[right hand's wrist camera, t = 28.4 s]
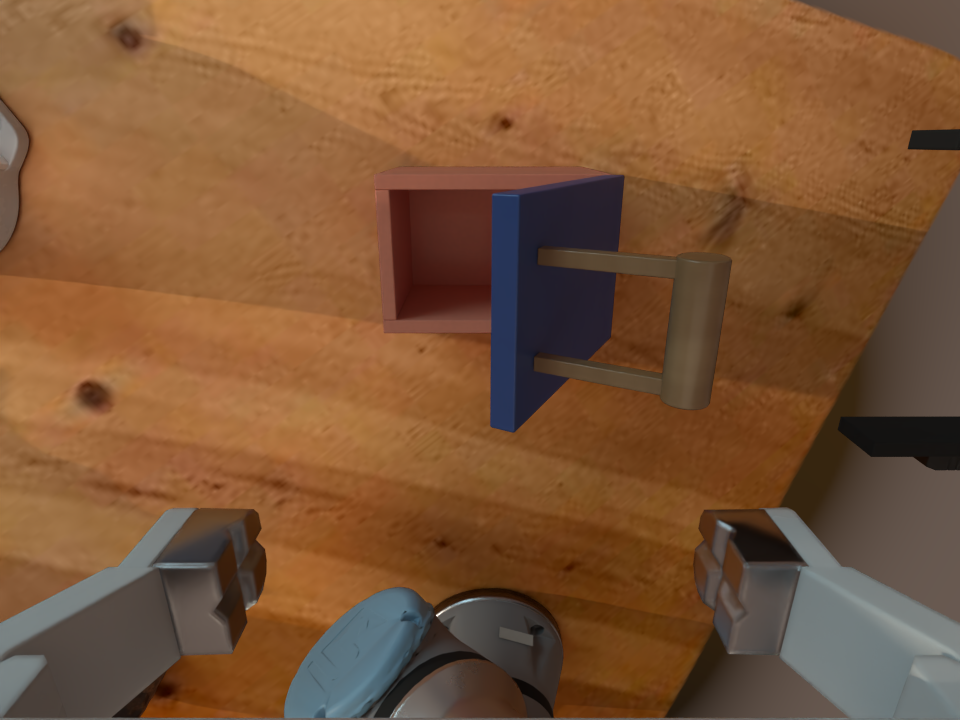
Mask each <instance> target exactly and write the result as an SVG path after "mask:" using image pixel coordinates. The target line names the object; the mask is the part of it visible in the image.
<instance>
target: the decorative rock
mask: <svg viewBox="0 0 960 720" xmlns="http://www.w3.org/2000/svg"><path fill="white" fill-rule="evenodd" d="M166 671H167V670H166ZM166 671H165V672H164V673H163V674H162V675H160V676H159V677H158V678H157V679H156V680H155V681H153V682H152V683H151V684H150V685H149V686H148V687H146V688H145V689H144V690H143V691H142V692H140V693H139V694H138V695H137V696H136V697H135V698H133V699H132V700H131V701H130V702H129V703H128V704H126V705H125V706H124V707H123V708H122V709H121V710H119V711H118V712H117V713H116V714H115V715H114V716H112V717H111V718H140V716H141V715H142V714H143V712H144V711H145V709H146V707H147V705H148V703H149V701H150V700H151V699H152V697H153V696H154V694H155V692H156V690H157V686H158V685H159V683H160V682H161V680H162V679H163V677H164V675H165V673H166Z"/></svg>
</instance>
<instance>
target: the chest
mask: <svg viewBox="0 0 960 720" xmlns="http://www.w3.org/2000/svg"><path fill="white" fill-rule="evenodd" d="M601 175H612V174H608V173H604V172H600V171H596V170H592V169H588V168H584V167H397V168H393V169H390V170H387V171H384V172H381V173H378V174H375V175H374V183H375V197H376V213H377V229H378V245H379V261H380V276H381V292H382V308H383V319H384V320H383V325H384V333H491V268H492V194H494V193H499V192H505V191H511V190H517V189H523V188H529V187H535V186H541V185H547V184H553V183H559V182H565V181H571V180H577V179H583V178H589V177H595V176H601Z"/></svg>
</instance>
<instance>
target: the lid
mask: <svg viewBox="0 0 960 720" xmlns="http://www.w3.org/2000/svg"><path fill="white" fill-rule="evenodd" d="M623 186H624V176H623V175H601V176H595V177H589V178H583V179H577V180H571V181H565V182H559V183H553V184H547V185H541V186H535V187H529V188H523V189H517V190H511V191H505V192H499V193H494V194H492V268H491V417H490V426H491V427H493V428H497V429H501V430H505V431H509V432H515V431H516V430H517V429H518V428H519V427H520V426H521V425H522V424H523V423H524V422H526V421H527V420H528V419H529V418H530V417H531V416H532V415H533V414H534V413H535V412H536V411H537V410H538V409H539V408H540V407H541V406H542V405H543V404H544V403H545V402H546V401H547V400H548V399H549V398H550V397H551V396H552V395H553V394H554V393H555V392H556V391H557V390H558V389H559V388H560V387H561V386H562V385H563V384H564V383H565V382H566V381H567V380H568V379H569V378H573V379H578V380H583V381H588V382H593V383H599V384H604V385H609V386H614V387H620V388H625V389H630V390H635V391H640V392H646V393H651V394H656V395H660V399H661V400H662V401H663V402H664V403H665V404H667V405H669V406H672V407H675V408H679V409H685V410H699V409H703V408H706V407H707V406H708V405H709V403H710V398H711V391H712V385H713V379H714V372H715V366H716V360H717V353H718V347H719V340H720V334H721V328H722V321H723V315H724V309H725V302H726V296H727V289H728V283H729V277H730V270H731V264H732V259H731V258H730V257H728V256H725V255H720V254H714V253H702V252H690V253H682V254H679V255H678V256H677V257H671V256H659V255H647V254H636V253H624V252H618V245H619V233H620V222H621V210H622V198H623ZM616 273H622V274H631V275H641V276H651V277H661V278H671V279H674V282H673V291H672V299H671V307H670V315H669V323H668V332H667V340H666V348H665V356H664V364H663V373H656V372H651V371H645V370H639V369H634V368H628V367H622V366H616V365H611V364H605V363H599V362H593V361H588V359H589V358H590V357H591V356H592V355H593V354H594V353H595V352H596V351H597V350H598V349H599V348H600V347H601V346H602V345H603V344H604V343H605V342H606V341H607V340H608V339H609V338H610V337H611V327H612V316H613V304H614V292H615V280H616Z"/></svg>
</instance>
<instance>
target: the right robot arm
mask: <svg viewBox="0 0 960 720" xmlns="http://www.w3.org/2000/svg"><path fill="white" fill-rule="evenodd" d="M28 147H29V138H28V134H27V132H26V130H25V128H24V127H23V126H22V124H21V123H20V122H19V121H18V120H17V118H16V117H15V116H14V115H13V114H12V112H11V111H10V110H9V109H8V108H7V106H6V105H5V104H4V103H3V102H2V100H1V99H0V251H1V250H2V249H3V248H4V246H5V245H6V244H7V242H8V241H9V239H10V237H11V235H12V233H13V231H14V228H15V226H16V222H17V217H18V210H19V191H18V175H19V171H20V168H21V166H22V164H23V162H24V159H25V157H26V154H27V151H28ZM261 529H262V528H261V524H260V519H259V514H258V513H257V512H256V511H255V510H254V509H225V508H200V509H199V508H172V509H169V510H166V511H165V513H164V514H163V515H162V516H161V517H160V518H159V519H158V521H157V522H156V523H155V524H154V525H153V526H152V528H151V529H150V530H149V531H148V532H147V533H146V535H145V536H144V537H143V538H142V539H141V540H140V542H139V543H138V544H137V545H136V546H135V547H134V549H133V550H132V551H131V552H130V553H129V554H128V555H127V557H126V558H125V559H124V560H123V561H122V562H121V564H120V565H119V566H118V567H108V568H106V569H104V570H102V571H100V572H98V573H96V574H94V575H92V576H90V577H88V578H87V579H85V580H83V581H81V582H79V583H77V584H75V585H73V586H71V587H69V588H67V589H65V590H63V591H61V592H59V593H58V594H56V595H54V596H52V597H50V598H48V599H46V600H44V601H42V602H40V603H38V604H36V605H34V606H32V607H30V608H29V609H27V610H25V611H23V612H21V613H19V614H17V615H15V616H13V617H11V618H9V619H7V620H5V621H3V622H1V623H0V720H960V623H958V622H956V621H954V620H952V619H950V618H949V617H947V616H945V615H943V614H941V613H939V612H937V611H935V610H933V609H931V608H929V607H927V606H925V605H924V604H921V603H920V602H918V601H916V600H914V599H912V598H910V597H908V596H906V595H904V594H902V593H900V592H898V591H897V590H895V589H893V588H891V587H889V586H887V585H885V584H883V583H881V582H879V581H877V580H875V579H873V578H871V577H869V576H868V575H866V574H864V573H862V572H860V571H858V570H856V569H854V568H852V567H842V566H841V565H840V564H839V563H838V561H837V560H836V559H835V558H834V557H833V556H832V554H831V553H830V552H829V551H828V550H827V549H826V547H825V546H824V545H823V544H822V543H821V542H820V540H819V539H818V538H817V537H816V536H815V535H814V534H813V532H812V531H811V530H810V529H809V528H808V527H807V525H806V524H805V523H804V522H803V521H802V520H801V518H800V517H799V516H798V515H797V514H796V513H795V511H793V510H791V509H789V508H760V509H728V510H704V511H703V513H702V515H701V517H700V523H699V528H698V529H699V531H700V532H701V534H702V536H703V538H704V541H703V542H702V543H701V544H700V545H699V546H698V547H697V548H696V549H695V554H694V562H693V567H694V579H695V583H696V587H697V590H698V593H699V595H700V597H701V599H702V601H703V603H704V604H706V605H707V606H709V607H710V608H711V609H713V610H714V611H715V612H714V617H713V624H714V626H715V628H716V630H717V632H718V634H719V636H720V638H721V640H722V642H723V644H724V646H725V648H726V650H727V652H728V654H752V655H780V656H779V658H780V659H781V660H782V661H784V662H785V663H786V664H787V665H788V666H789V667H791V668H792V669H793V670H794V671H795V672H796V673H798V674H799V675H800V676H801V677H802V678H803V679H805V680H806V681H807V682H808V683H809V684H810V685H812V686H813V687H814V688H815V689H816V690H817V691H819V692H820V693H821V694H822V695H823V696H824V697H826V698H827V699H828V700H829V701H830V702H831V703H833V704H834V705H835V706H836V707H837V708H838V709H840V710H841V711H842V712H843V713H844V714H845V715H847V716H848V717H849V718H111V717H112V716H114V715H115V714H116V713H117V712H118V711H119V710H121V709H122V708H123V707H124V706H125V705H126V704H128V703H129V702H130V701H131V700H132V699H133V698H135V697H136V696H137V695H138V694H139V693H140V692H142V691H143V690H144V689H145V688H146V687H148V686H149V685H150V684H151V683H152V682H153V681H155V680H156V679H157V678H158V677H159V676H160V675H162V674H163V673H164V672H165V671H166V670H167V669H169V668H170V667H171V666H172V665H173V664H174V663H176V662H177V661H178V660H179V659H180V658H181V657H180V655H208V654H232V653H233V651H234V649H235V647H236V644H237V642H238V640H239V638H240V636H241V634H242V632H243V630H244V628H245V626H246V624H247V618H246V612H245V611H246V610H247V609H249V608H250V607H251V606H253V605H254V604H256V603H257V601H258V599H259V597H260V595H261V593H262V590H263V587H264V582H265V577H266V562H267V560H266V553H265V549H264V548H263V547H262V546H261V545H260V544H259V543H258V542H257V541H256V538H257V536H258V534H259V532H260V531H261Z"/></svg>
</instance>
